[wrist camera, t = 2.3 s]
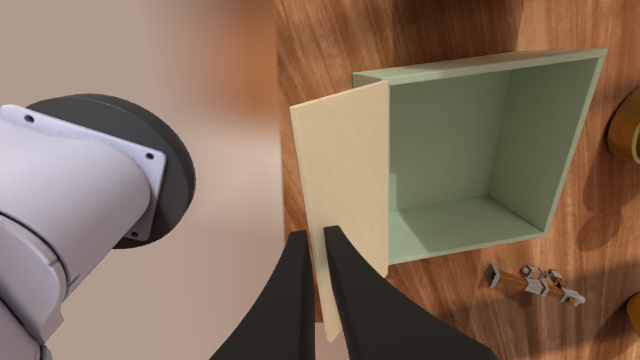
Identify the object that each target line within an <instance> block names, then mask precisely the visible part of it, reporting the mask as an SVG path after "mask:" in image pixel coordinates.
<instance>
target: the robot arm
mask: <svg viewBox="0 0 640 360" xmlns="http://www.w3.org/2000/svg"><path fill="white" fill-rule="evenodd" d="M0 112H1V119H0V360H52V355H51V352H50V350H49V349H48V348H47V346H46V345H44V344H45V342H46V341H47V340H48V339H49V338H50V336H51V335H52V334H53V333H54V332H55V330H56V329H57V328H58V327H59V326H60V325H61V323H62V322H63V321H64V319H63V317H62V315H61V312H60V306H61V304H62V303H63V302H64V301H65V300H66V298H67V297H68V296H69V295H70V294H71V293H72V292H73V291H74V289H76V288H77V286H78V285H79V284H80V283H81V282H82V281H83V280H84V279H85V278H86V276H87V275H88V274H89V273H90V272H91V271H92V270H93V269H94V268H95V267H96V265H97V264H98V263H99V262H100V261H101V260H102V259H103V258H104V257H105V256H106V254H107V253H108V252H109V251H110V250H111V249H112V248H113V247H114V246H115V245H116V244H117V242H118V241H119V240H120V239H121V238H122V237H127V238H131V239H136V240H140V241H145V240H147V239H148V238H149V236H150V233H151V229H152V224H153V220H154V215H155V211H156V206H157V202H158V197H159V193H160V188H161V184H162V180H163V175H164V171H165V166H166V162H167V156H166V155H165V154H164V153H163V152H161V151H158V150H155V149H152V148H149V147H146V146H143V145H139V144H136V143H133V142H130V141H127V140H124V139H121V138H118V137H114V136H111V135H108V134H105V133H102V132H99V131H96V130H93V129H89V128H86V127H83V126H80V125H77V124H74V123H71V122H67V121H64V120H61V119H58V118H55V117H52V116H49V115H46V114H42V113H39V112H36V111H33V110H30V109H27V108H23V107H20V106H17V105H13V104H9V105H3V106H2V107H1V110H0ZM30 116H32V117H33V118H34V121H32V120H31V119H30ZM148 153H151V154H152V155H153V156H154V158H150V157H149V156H148ZM323 229H324V237H325V245H326V252H327V260H328V267H329V274H330V280H331V286H332V290H333V294H334V298H335V302H336V306H337V309H338V313H339V317H340V321H341V324H342V328H343V332H344V336H345V339H346V344H347V348H348V353H349V358H350V360H499V359H498V358H497V356H496V355H495V354H494V353H493V352H492V350H491V349H490V348H489V347H487V346H485V345H483V344H481V343H480V342H478V341H476V340H474V339H472V338H470V337H469V336H467V335H465V334H463V333H461V332H459V331H458V330H456V329H454V328H452V327H450V326H449V325H447V324H446V323H444V322H442V321H441V320H439V319H438V318H436V317H434V316H433V315H431V314H430V313H429V312H427V311H426V310H424V309H423V308H421V307H420V306H419V305H417V304H416V303H414V302H413V301H411V300H410V299H409V298H407V297H406V296H405V295H404V294H402V293H401V292H400V291H399V290H397V289H396V288H395V287H394V286H392V285H391V284H390V283H389V282H388V281H387V280H386V279H384V278H383V277H382V276H381V275H380V274H379V273H378V272H377V271H376V270H375V269H374V268H373V267H372V266H371V265H370V264H369V263H368V262H367V261H366V260H365V259H364V258H363V256H362V255H361V254H360V253H359V252H358V251H357V250H356V248H355V247H354V246H353V245H352V243H351V242H350V241H349V239H348V238H347V237H346V235H345V234H344V232H343V231H342V229H341V227H340V226H338V225H335V226H328V227H324V228H323ZM134 232H136V233H137V234H135V233H134ZM209 360H315V289H314V280H313V270H312V263H311V257H310V251H309V245H308V239H307V233H306V230H301V231H294V232H291V233H290V234H289V237H288V240H287V243H286V245H285V248H284V250H283V253H282V255H281V257H280V259H279V261H278V264H277V265H276V267H275V269H274V271H273V273H272V275H271V277H270V279H269V280H268V282H267V284H266V286H265V287H264V289H263V291H262V292H261V294H260V295H259V297H258V299H257V300H256V302H255V303H254V304H253V306H252V307H251V309H250V310H249V312H248V313H247V314H246V316H245V317H244V318H243V320H242V321H241V322H240V324H239V325H238V326H237V328H236V329H235V330H234V331H233V333H232V334H231V335H230V336H229V337H228V339H227V340H226V341H225V342H224V343H223V344H222V345H221V347H220V348H219V349H218V350H217V351H216V352H215V353H214V354H213V356H212V357H211V358H210V359H209Z"/></svg>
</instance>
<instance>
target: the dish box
mask: <svg viewBox="0 0 640 360" xmlns="http://www.w3.org/2000/svg"><path fill="white" fill-rule="evenodd" d="M607 51H608V48H597V49H569V50H542V51H515V52H507V53H500V54H492V55H484V56H477V57H469V58H462V59H454V60H446V61H439V62H431V63H423V64H416V65H408V66H400V67H393V68H385V69H377V70H370V71H362V72H355V73H352V75H353V89H355V88H358V87H362V86H365V85H369V84H372V83H376V82H379V81H385V80H387V81H388V265H392V264H397V263H403V262H408V261H414V260H419V259H425V258H430V257H436V256H441V255H446V254H452V253H457V252H463V251H468V250H474V249H479V248H485V247H490V246H496V245H501V244H506V243H512V242H517V241H523V240H528V239H534V238H539V237H545V236H547V235H548V231H549V229H550V226H551V223H552V220H553V217H554V214H555V211H556V208H557V205H558V201H559V198H560V195H561V192H562V189H563V186H564V183H565V180H566V177H567V174H568V171H569V168H570V165H571V162H572V158H573V155H574V152H575V149H576V146H577V143H578V140H579V137H580V134H581V131H582V128H583V125H584V122H585V119H586V115H587V112H588V109H589V106H590V103H591V100H592V97H593V94H594V91H595V88H596V85H597V82H598V79H599V75H600V72H601V69H602V66H603V63H604V60H605V56H606V54H607Z"/></svg>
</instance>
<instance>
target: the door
mask: <svg viewBox="0 0 640 360" xmlns="http://www.w3.org/2000/svg"><path fill="white" fill-rule="evenodd" d="M289 108H290V115H291V121H292V127H293V133H294V140H295V146H296V152H297V158H298V165H299V171H300V177H301V183H302V190H303V196H304V202H305V208H306V215H307V221H308V227H309V233H310V240H311V246H312V252H313V258H314V265H315V271H316V277H317V283H318V290H319V296H320V302H321V308H322V315H323V321H324V327H325V333H326V339H327V341H328V342H329V343H332V342H333V340H334V339H335V338H336V337H337V336H338V334H339V333H340V332H341V331H342V329H343V328H342V324H341V321H340V317H339V313H338V309H337V306H336V302H335V298H334V294H333V290H332V286H331V280H330V274H329V267H328V260H327V252H326V245H325V237H324V229H323V228H324V227H328V226H335V225H338V226H340V227H341V229H342V231H343V232H344V234H345V235H346V237H347V238H348V239H349V241H350V242H351V243H352V245H353V246H354V247H355V248H356V250H357V251H358V252H359V253H360V254H361V255H362V256H363V258H364V259H365V260H366V261H367V262H368V263H369V264H370V265H371V266H372V267H373V268H374V269H375V270H376V271H377V272H378V273H379V274H380V275H381V276H382V277H383V278H385V276H386V275H387V274H388V81H387V80H385V81H379V82H376V83H372V84H369V85H365V86H362V87H358V88H355V89H351V90H347V91H344V92H340V93H337V94H333V95H330V96H326V97H323V98H319V99H316V100H312V101H308V102H305V103H301V104H298V105H294V106H291V107H289Z"/></svg>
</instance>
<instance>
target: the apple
mask: <svg viewBox="0 0 640 360" xmlns="http://www.w3.org/2000/svg"><path fill="white" fill-rule="evenodd" d="M626 310H627V313H628V315H629V318H630V320H631V323H632V325H633V327H634V328H635V330H636V332H637V333H638V335H639V337H640V293H638V294H635V295H634V296H633V297H632V298H630V299H629V302H628V304H627V309H626Z"/></svg>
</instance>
